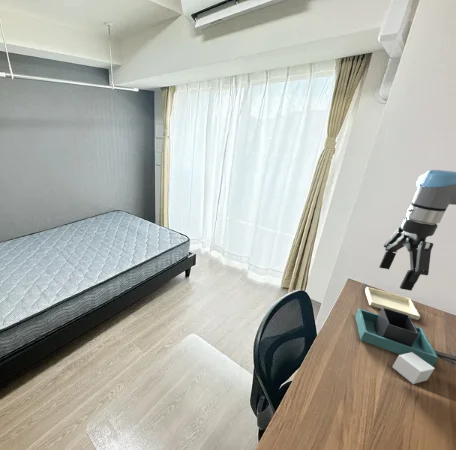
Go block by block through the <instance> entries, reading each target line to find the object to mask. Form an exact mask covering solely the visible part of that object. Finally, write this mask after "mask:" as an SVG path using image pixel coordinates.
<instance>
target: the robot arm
mask: <svg viewBox="0 0 456 450" xmlns="http://www.w3.org/2000/svg"><path fill="white" fill-rule="evenodd" d="M415 186H416V191H415V193H414V196H413V198H412V200H411V203H410V206H409V207H408V209H407V212H406V214H405V218H404V219H402V223H401V225H400V226H398V227H397V228H396V230H395V232H393V234H392V235H391V236H390V237H389V238H388V239H387V240H386V242H385V243H384V244H383V245H382V246H383V248H384V251H385V252H384V255H383V257H382V259H381V262H380V263H379V266H378V267H379V269H385V270H390V268H391V266H392V264H393V262H394V260H395V257H396V255H397V253H398V251H399V250H401V249H402V248H406V251H407V252H408V253H409V263H410V264H409V265H410V267H409V268H410V269H408V270H407V272H406V273H405V275H404V278H403V280H402V282H401V284H400V286H399V289H400V290H405V291H410V292H411V291H413V289H414V287H415V285H416V283H417V282H418V280H419V278H420V276H421V275H422V276H429V272H430V263H431V254H432V249H433V247H434V243H433V242H429V241H427V240H426V239H427V238H428V237H432V236H434V235H435V233H436V230H437V228H438V224H440V223H441V221H442V219H443V217H444V215H445V213H446V211H447V209H448V207H449V205H455V206H456V171H453V170H441V169H429V170H427V171H426V172H425V173H423V174H421V175H420V176H419V177H418V178H417V180H416V181H415Z"/></svg>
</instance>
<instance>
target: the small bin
mask: <svg viewBox="0 0 456 450" xmlns="http://www.w3.org/2000/svg"><path fill="white" fill-rule="evenodd" d="M415 326H416V325H415V323H414V322H413V320H412V318H410V316H409V315H406V314H403V313H400V312H396V311H393V310H390V309H386V308H383V307H382V309H380V311H379V313H378V317H377V319H376V321H375V323H374V327H375V331H376V334H377V335H378V336H381V337H384V338H386V339H389V340H392V341H395V342H398V343H401V344H404V345H406V346H409V347H412V345H413V344H414V342H415V340H416V338H417V337H418V335H419V333H418V331H417V330H416V328H415Z"/></svg>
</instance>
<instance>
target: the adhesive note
mask: <svg viewBox="0 0 456 450" xmlns="http://www.w3.org/2000/svg"><path fill="white" fill-rule="evenodd" d="M392 368H393V370H395V371H397V372H398V373H399V374H400V375H401V376H403V377H404V378H405V379H406V380H407V381H409V382H410V384H411V386H414V384H418V383H422V382H426V381H428V379H429V378H430V376H431V375H432V373H433V372H434V370H435V369H436V368H435V367H434V366H433V367H432V366H431V365H430V364H428V363H427V362H425V361H424V360H422V359H421V358H420V357H418V356H417V355H415V354H414V353H413V352H410V353H406V354H402V355H400V354H398V356H397V357H396V360H394V362H393V364H392Z"/></svg>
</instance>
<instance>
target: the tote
mask: <svg viewBox="0 0 456 450" xmlns="http://www.w3.org/2000/svg"><path fill="white" fill-rule="evenodd" d="M378 315H379V313H375V312H373V311H369V310H365V309H363V308H358V309H357V311H356V313H355V321H356V325H357V330H358V335H359V338H360V341H362V342H364V343H367V344H370V345H372V346H375V347H378V348H381V349H384V350H386V351H389V352H391V353H394V354H398V355H402V354H406V353H410V352H413V353H414V354H415V355H417V356H418V357H420V358H421V359H422V360H424V361H425V362H427V363H428V364H430V365H431V366H432V367H434V366H435V364H436V362H437V361H438V360H439V357H438V355H437V353H436V351H435V349H434V348H433V346H432V343H431V342H430V340H429V338H428V336H427V334H426V333H425V331H424V329H423V327H419V326H416V325H414V326H415V328H416V330H417V331H418V333H419V335H418V337H417V338H416V340H415V342H414V344H413V345H412V347H409V346H406V345H404V344H401V343H398V342H395V341H392V340H389V339H386V338H384V337H381V336H378V335H377V334H376V331H375V327H374V323H375V321H376V319H377V317H378Z"/></svg>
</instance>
